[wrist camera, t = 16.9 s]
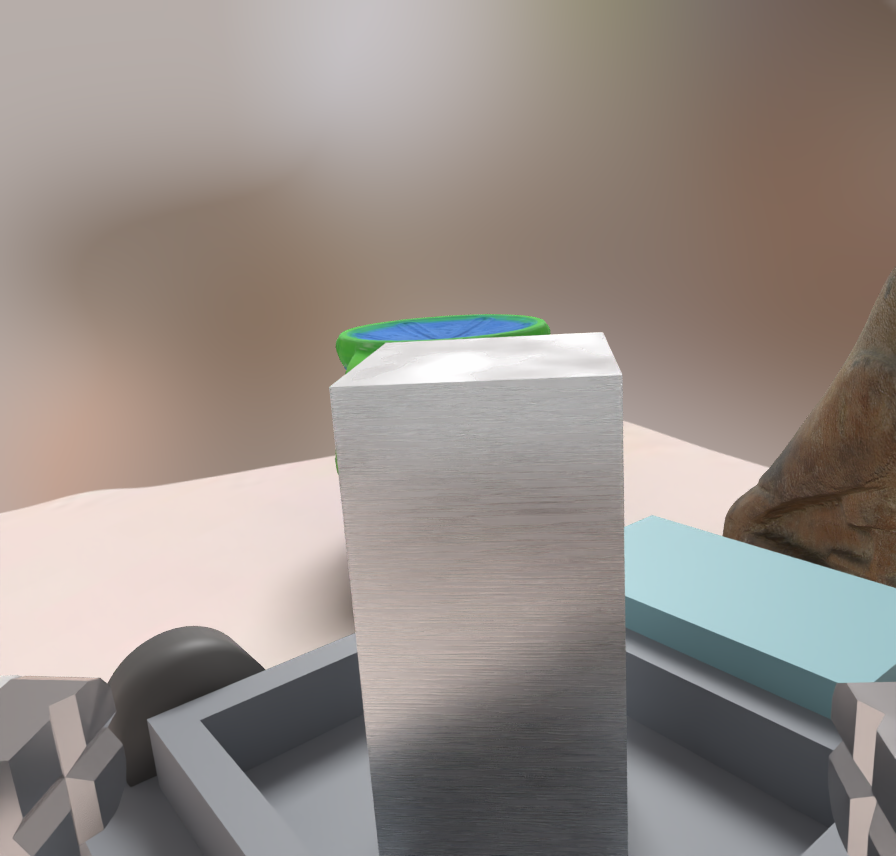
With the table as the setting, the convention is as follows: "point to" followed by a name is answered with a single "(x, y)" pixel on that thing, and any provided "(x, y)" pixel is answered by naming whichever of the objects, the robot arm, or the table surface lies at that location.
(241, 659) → the toy truck
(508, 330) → the snack cup
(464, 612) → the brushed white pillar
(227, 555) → the table surface
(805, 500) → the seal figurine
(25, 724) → the robot arm
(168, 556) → the table surface
